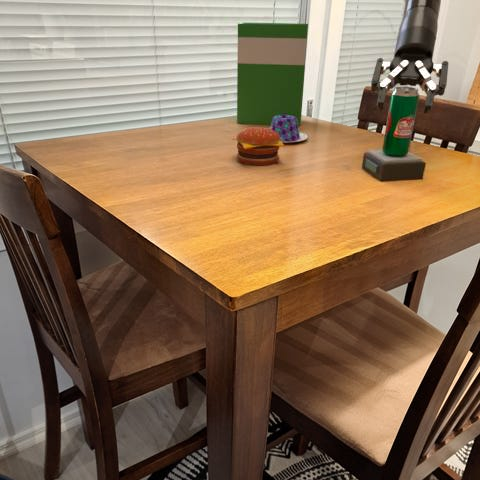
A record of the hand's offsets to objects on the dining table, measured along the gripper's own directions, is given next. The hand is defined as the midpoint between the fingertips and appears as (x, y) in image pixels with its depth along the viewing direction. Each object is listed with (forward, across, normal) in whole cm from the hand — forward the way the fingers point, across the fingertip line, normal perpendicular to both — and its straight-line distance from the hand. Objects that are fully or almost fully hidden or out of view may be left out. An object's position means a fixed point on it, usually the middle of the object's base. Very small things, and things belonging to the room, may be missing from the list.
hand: (403, 109), depth 98 cm
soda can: (+9, 0, +2) cm, 9 cm away
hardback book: (-16, -36, +33) cm, 51 cm away
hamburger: (+11, -29, +6) cm, 31 cm away
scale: (+11, 0, +5) cm, 12 cm away
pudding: (-3, -27, +20) cm, 34 cm away
